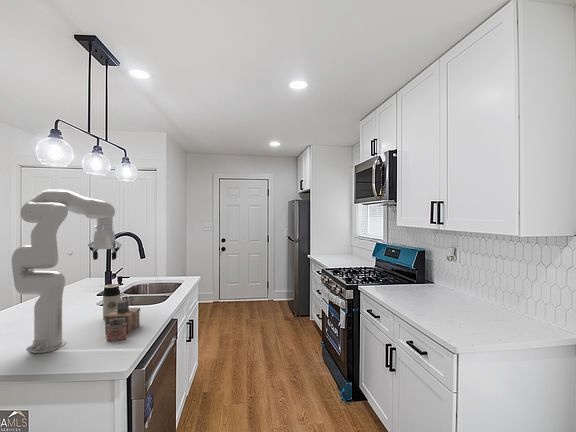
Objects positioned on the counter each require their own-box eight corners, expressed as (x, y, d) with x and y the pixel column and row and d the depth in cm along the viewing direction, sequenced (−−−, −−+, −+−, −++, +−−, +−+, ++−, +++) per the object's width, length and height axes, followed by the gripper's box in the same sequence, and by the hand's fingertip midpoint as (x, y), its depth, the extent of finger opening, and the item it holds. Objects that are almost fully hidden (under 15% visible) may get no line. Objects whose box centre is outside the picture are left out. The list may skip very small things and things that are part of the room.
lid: (128, 318, 154) (128, 305, 154) (104, 318, 154) (104, 305, 154) (140, 310, 168) (140, 297, 167) (118, 310, 167) (118, 297, 167)
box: (127, 336, 154) (127, 318, 154) (105, 336, 154) (105, 318, 154) (139, 326, 167) (139, 310, 167) (118, 326, 167) (118, 310, 167)
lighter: (105, 344, 145) (105, 320, 145) (107, 341, 148) (107, 318, 148) (125, 342, 147) (125, 319, 147) (127, 339, 150) (127, 316, 150)
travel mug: (105, 318, 181) (105, 284, 181) (121, 317, 183) (121, 283, 183) (101, 322, 173) (101, 287, 173) (118, 321, 175) (118, 286, 175)
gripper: (84, 228, 180) (84, 260, 180) (117, 228, 181) (117, 260, 181) (92, 227, 188) (92, 258, 188) (124, 227, 189) (124, 258, 189)
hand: (104, 259), depth 185 cm, fingers open, 9 cm apart
